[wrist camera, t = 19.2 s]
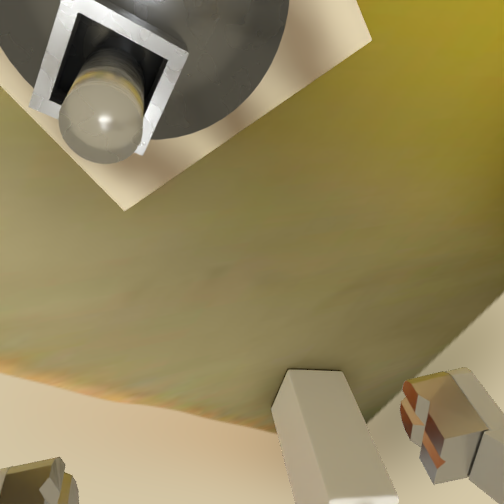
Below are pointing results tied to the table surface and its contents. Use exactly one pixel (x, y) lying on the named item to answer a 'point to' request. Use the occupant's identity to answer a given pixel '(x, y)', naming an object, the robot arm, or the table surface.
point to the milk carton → (328, 442)
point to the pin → (105, 107)
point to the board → (255, 106)
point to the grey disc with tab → (149, 52)
